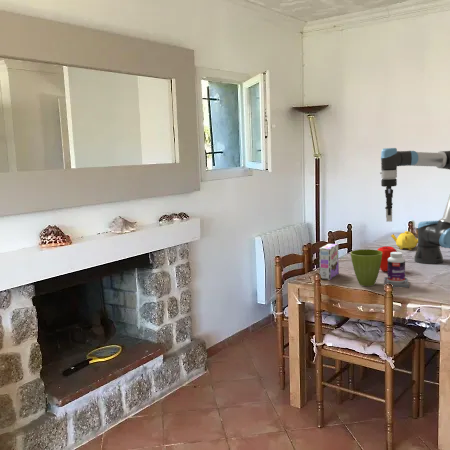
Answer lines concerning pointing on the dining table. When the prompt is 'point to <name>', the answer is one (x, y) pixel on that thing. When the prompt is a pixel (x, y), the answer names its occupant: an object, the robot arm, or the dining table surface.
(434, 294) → the dining table surface
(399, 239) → the teapot
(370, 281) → the flower pot
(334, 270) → the candy box
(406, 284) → the socket plate
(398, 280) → the pill bottle
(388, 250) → the apple
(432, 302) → the dining table surface
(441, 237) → the robot arm
